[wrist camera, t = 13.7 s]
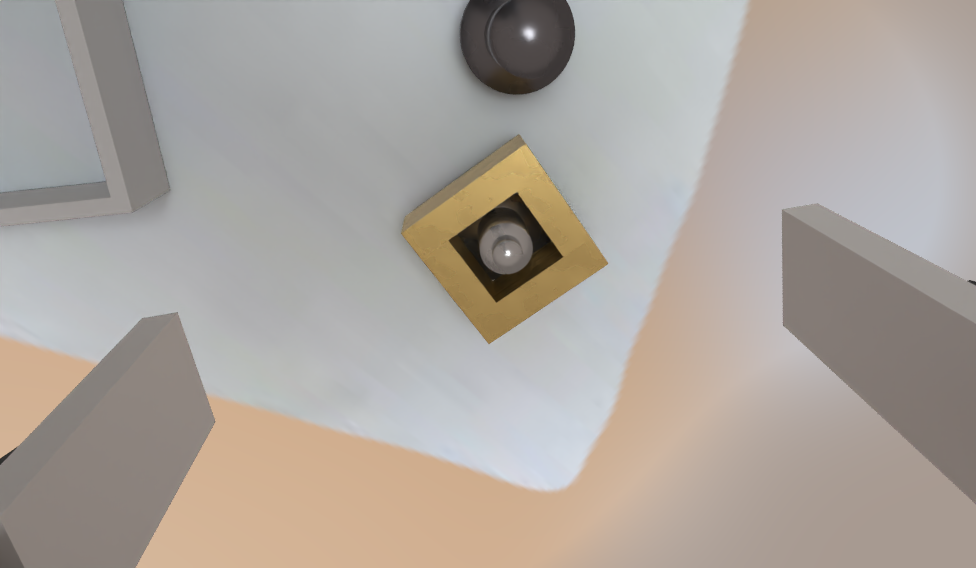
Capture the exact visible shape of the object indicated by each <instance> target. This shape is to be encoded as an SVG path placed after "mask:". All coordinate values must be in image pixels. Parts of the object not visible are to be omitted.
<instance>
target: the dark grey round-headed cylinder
mask: <svg viewBox="0 0 976 568" xmlns="http://www.w3.org/2000/svg"><path fill="white" fill-rule="evenodd" d="M574 40H575V26H574V19H573V15H572V12H571V9H570V7H569V5H568V3H567V1H566V0H470V1H469V3H468V4H467V6H466V8H465V10H464V13H463V16H462V20H461V24H460V43H461V48H462V52H463V55H464V57H465V59H466V62H467V64H468V65H469V67H470V69H471V70H472V72H473V73H474V74H475V75H476V77H478V78H479V79H480V80H481V81H482V82H483V83H484V84H486V85H487V86H489V87H491V88H492V89H494V90H497V91H499V92H503V93H507V94H527V93H531V92H534V91H537V90H539V89H542V88H544V87H545V86H547V85H548V84H550V83H551V82H552V81H553V80H555V79H556V78H557V77H558V76H559V74H560V73H561V72H562V71H563V69H564V68H565V66H566V65H567V63H568V61H569V59H570V56H571V54H572V50H573V46H574Z"/></svg>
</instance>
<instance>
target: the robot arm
mask: <svg viewBox="0 0 976 568" xmlns="http://www.w3.org/2000/svg"><path fill="white" fill-rule="evenodd" d="M782 269H783V270H782V271H783V326H784V327H786V328H787V329H788V330H789V331H790V332H791V333H792V334H793V335H794V336H795V337H796V338H797V339H798V340H800V341H801V342H802V343H803V344H804V345H805V346H806V347H807V348H808V349H809V350H810V351H811V352H812V353H814V354H815V355H816V356H817V357H818V358H819V359H820V360H821V361H822V362H823V363H824V364H825V365H827V366H828V367H829V368H830V369H831V370H832V371H833V372H834V373H835V374H836V375H837V376H838V377H839V378H840V379H842V380H843V381H844V382H845V383H846V384H847V385H848V386H849V387H850V388H851V389H853V391H855V392H856V393H857V394H858V395H859V396H860V397H861V398H862V399H863V400H864V401H865V402H866V403H867V404H868V405H870V406H871V407H872V408H873V409H874V410H875V411H876V412H877V413H878V414H879V415H881V417H882V418H884V419H885V420H886V421H887V422H888V423H889V424H890V425H891V426H892V427H893V428H894V429H895V430H897V431H898V432H899V433H900V434H901V435H902V436H903V437H904V438H905V439H906V440H907V441H908V442H909V443H911V444H912V445H913V446H914V447H915V448H916V449H917V450H918V451H919V452H920V453H921V454H922V455H923V456H925V457H926V458H927V459H928V460H929V461H930V462H931V463H932V464H933V465H934V466H935V467H936V468H937V469H939V470H940V471H941V472H942V473H943V474H944V475H945V476H946V477H947V478H948V479H949V480H950V481H952V482H953V483H954V484H955V485H956V486H957V487H958V488H959V489H960V490H961V491H962V492H963V493H964V494H966V495H967V496H968V497H969V498H970V499H971V500H972V501H973V502H974V503H975V504H976V282H975V281H971V280H969V281H966V280H964V279H962V278H960V277H958V276H956V275H954V274H952V273H950V272H949V271H947V270H944V269H943V268H941V267H939V266H937V265H935V264H933V263H931V262H929V261H927V260H925V259H923V258H922V257H919V256H918V255H916V254H914V253H912V252H910V251H908V250H906V249H904V248H902V247H900V246H898V245H896V244H895V243H893V242H891V241H889V240H887V239H885V238H883V237H881V236H879V235H877V234H875V233H873V232H871V231H869V230H867V229H866V228H864V227H862V226H860V225H858V224H856V223H854V222H852V221H850V220H848V219H846V218H844V217H842V216H841V215H839V214H836V213H834V212H833V211H831V210H829V209H827V208H825V207H823V206H821V205H819V204H811V205H806V206H799V207H794V208H788V209H783V210H782ZM214 423H215V419H214V416H213V413H212V411H211V408H210V405H209V402H208V399H207V396H206V393H205V390H204V387H203V384H202V382H201V379H200V376H199V373H198V370H197V367H196V364H195V361H194V359H193V356H192V353H191V350H190V347H189V344H188V341H187V338H186V335H185V333H184V330H183V327H182V324H181V321H180V318H179V315H178V312H177V313H171V314H165V315H159V316H154V317H148V318H142V319H141V320H140V321H139V322H138V323H137V324H136V325H135V326H134V327H133V328H132V330H131V331H130V332H129V333H128V334H127V335H126V336H125V337H124V338H123V339H122V340H121V341H120V342H119V343H118V344H117V345H116V346H115V347H114V348H113V349H112V350H111V351H110V352H109V353H108V354H107V355H106V356H105V357H104V358H103V359H102V361H101V362H100V363H99V364H98V365H97V366H96V367H95V368H94V369H93V370H92V371H91V372H90V373H89V374H88V375H87V376H86V377H85V378H84V379H83V380H82V381H81V382H80V383H79V384H78V385H77V386H76V387H75V388H74V389H73V391H72V392H71V393H70V394H69V395H68V396H67V397H66V398H65V399H64V400H63V401H62V402H61V403H60V404H59V405H58V406H57V407H56V408H55V409H54V410H53V411H52V412H51V413H50V414H49V415H48V416H47V417H46V418H45V420H43V422H42V423H41V424H40V425H39V426H38V427H37V428H36V429H35V430H34V431H33V432H32V433H31V434H30V435H29V436H28V437H27V438H26V439H25V440H24V441H23V442H22V443H21V444H20V445H19V446H18V447H17V448H15V449H14V450H12V451H11V452H9V453H8V454H6V455H5V456H3V457H2V458H0V568H135V567H136V566H137V564H138V562H139V560H140V558H141V556H142V555H143V553H144V551H145V549H146V547H147V546H148V544H149V542H150V540H151V538H152V536H153V535H154V533H155V531H156V529H157V527H158V526H159V523H160V522H161V520H162V518H163V516H164V515H165V513H166V511H167V509H168V507H169V505H170V504H171V502H172V500H173V498H174V496H175V495H176V493H177V491H178V489H179V487H180V485H181V484H182V482H183V479H184V478H185V476H186V474H187V472H188V471H189V469H190V467H191V465H192V463H193V462H194V460H195V458H196V456H197V454H198V452H199V451H200V449H201V447H202V445H203V443H204V442H205V440H206V438H207V436H208V434H209V433H210V431H211V429H212V427H213V425H214Z"/></svg>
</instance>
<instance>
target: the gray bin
mask: <svg viewBox="0 0 976 568" xmlns="http://www.w3.org/2000/svg"><path fill="white" fill-rule="evenodd" d="M55 2H56V6H57V9H58V13H59V16H60V20H61V23H62V27H63V30H64V34H65V38H66V41H67V45H68V48H69V52H70V55H71V59H72V62H73V66H74V69H75V73H76V76H77V80H78V83H79V87H80V90H81V94H82V98H83V101H84V105H85V108H86V112H87V115H88V119H89V122H90V126H91V129H92V133H93V136H94V140H95V143H96V147H97V151H98V154H99V158H100V161H101V165H102V168H103V172H104V175H105V179H106V182H98V183H88V184H79V185H69V186H59V187H50V188H40V189H31V190H21V191H12V192H2V193H0V226H10V225H19V224H29V223H38V222H48V221H57V220H67V219H76V218H86V217H95V216H104V215H114V214H123V213H133V212H134V211H136V210H138V209H139V208H141V207H143V206H145V205H146V204H148V203H150V202H151V201H153V200H155V199H156V198H158V197H160V196H161V195H163V194H165V193H166V192H168V191H170V187H169V183H168V179H167V175H166V171H165V167H164V163H163V159H162V155H161V152H160V148H159V144H158V140H157V136H156V132H155V128H154V124H153V120H152V116H151V112H150V108H149V104H148V100H147V96H146V92H145V88H144V84H143V80H142V76H141V72H140V68H139V65H138V61H137V57H136V53H135V49H134V45H133V41H132V37H131V33H130V29H129V25H128V21H127V17H126V13H125V9H124V5H123V1H122V0H55Z"/></svg>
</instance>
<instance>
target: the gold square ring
mask: <svg viewBox="0 0 976 568" xmlns="http://www.w3.org/2000/svg"><path fill="white" fill-rule="evenodd" d="M516 192H517V193H518V194H519V196H520V197H521V198H522V200H523V201H524V203H525V204H526V205H527V207H528V208H529V210H530V211H531V212H532V214H533V215H534V217H535V218H536V219H537V221H538V222H539V224H540V225H541V226H542V228H543V229H544V231H545V232H546V233H547V235H548V236H549V238H550V239H551V240H552V241H550V242H549V243H547V244H546V245H545V246H543V247H542V248H540V249H539V250H537V251H536V252H534V253H533V254H532V256H531V258H530V260H529V262H528V263H527V265H526V266H525V267H524V268H522V269H521V270H519V271H518V272H515V273H512V274H502V275H501V276H500V277H498V278H497V279H495V280H494V281H492V280H491V278H490V277H489V276H488V274H487V273H486V272H485V270H484V269H483V268H482V266H481V265H480V264H479V263H478V261H477V260H476V259H475V257H474V256H473V255H472V253H471V252H470V251H469V249H468V248H467V247H466V246H465V244H464V243H463V242H462V240H461V239H460V238H459V236H458V235H457V234H458V233H459V232H461V231H462V230H464V229H465V228H466V227H468V226H469V225H471V224H472V223H474V222H475V221H476V220H478V219H479V218H481V217H482V216H483V215H485V214H486V213H488V212H489V211H490V210H492V209H493V208H495V207H496V206H498V205H499V204H500V203H502V202H503V201H505V200H506V199H507V198H509V197H510V196H512V195H513V194H514V193H516ZM401 234H402V235H403V237H404V238H405V239H406V240H407V242H408V243H409V244H410V245H411V247H412V248H413V249H414V250H415V252H416V253H417V254H418V256H419V257H420V258H421V259H422V261H423V262H424V263H425V264H426V266H427V267H428V268H429V269H430V271H431V272H432V273H433V274H434V276H435V277H436V278H437V279H438V281H439V282H440V283H441V285H442V286H443V287H444V288H445V290H446V291H447V292H448V293H449V295H450V296H451V297H452V298H453V300H454V301H455V302H456V303H457V305H458V306H459V307H460V308H461V310H462V311H463V312H464V313H465V315H466V316H467V317H468V319H469V320H470V321H471V322H472V324H473V325H474V326H475V327H476V329H477V330H478V331H479V332H480V334H481V335H482V336H483V337H484V339H485V340H486V341H487V342H488V344H490V343H491V342H493V341H494V340H496V339H497V338H499V337H500V336H502V335H503V334H505V333H506V332H508V331H509V330H511V329H512V328H514V327H515V326H517V325H518V324H520V323H521V322H523V321H524V320H526V319H527V318H529V317H530V316H532V315H533V314H535V313H536V312H538V311H539V310H540V309H542V308H543V307H545V306H546V305H548V304H549V303H551V302H552V301H554V300H555V299H557V298H558V297H560V296H561V295H563V294H564V293H566V292H567V291H569V290H570V289H572V288H573V287H575V286H576V285H578V284H579V283H581V282H582V281H584V280H585V279H587V278H588V277H590V276H591V275H593V274H594V273H596V272H597V271H599V270H600V269H601V268H603V267H604V266H606V265H607V264H608V262H607V261H606V259H605V258H604V256H603V255H602V253H601V252H600V250H599V249H598V247H597V246H596V244H595V243H594V241H593V240H592V239H591V237H590V236H589V234H588V233H587V231H586V230H585V228H584V227H583V226H582V224H581V223H580V221H579V220H578V218H577V217H576V215H575V214H574V213H573V211H572V210H571V208H570V207H569V205H568V204H567V202H566V201H565V200H564V198H563V197H562V195H561V194H560V192H559V191H558V189H557V188H556V186H555V185H554V184H553V182H552V181H551V179H550V178H549V176H548V175H547V173H546V172H545V171H544V169H543V168H542V166H541V165H540V163H539V162H538V160H537V159H536V158H535V156H534V155H533V153H532V152H531V150H530V149H529V147H528V146H527V145H526V143H525V142H524V140H523V139H522V137H521V136H520V134H518V135H517V136H516V137H514V138H513V139H511V140H510V141H509V142H507V143H506V144H505V145H503V146H502V147H500V148H499V149H498V150H496V151H495V152H494V153H492V154H491V155H489V156H488V157H487V158H485V159H484V160H482V161H481V162H480V163H478V164H477V165H476V166H474V167H473V168H471V169H470V170H469V171H467V172H466V173H464V174H463V175H462V176H460V177H459V178H458V179H456V180H455V181H453V182H452V183H451V184H449V185H448V186H446V187H445V188H444V189H442V190H441V191H440V192H438V193H437V194H435V195H434V196H433V197H431V198H430V199H429V200H427V201H426V202H424V203H423V204H422V205H420V206H419V207H417V208H416V209H415V210H413V211H412V212H411V213H409V214H408V215H406V216H405V218H404V223H403V227H402V231H401Z"/></svg>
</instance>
